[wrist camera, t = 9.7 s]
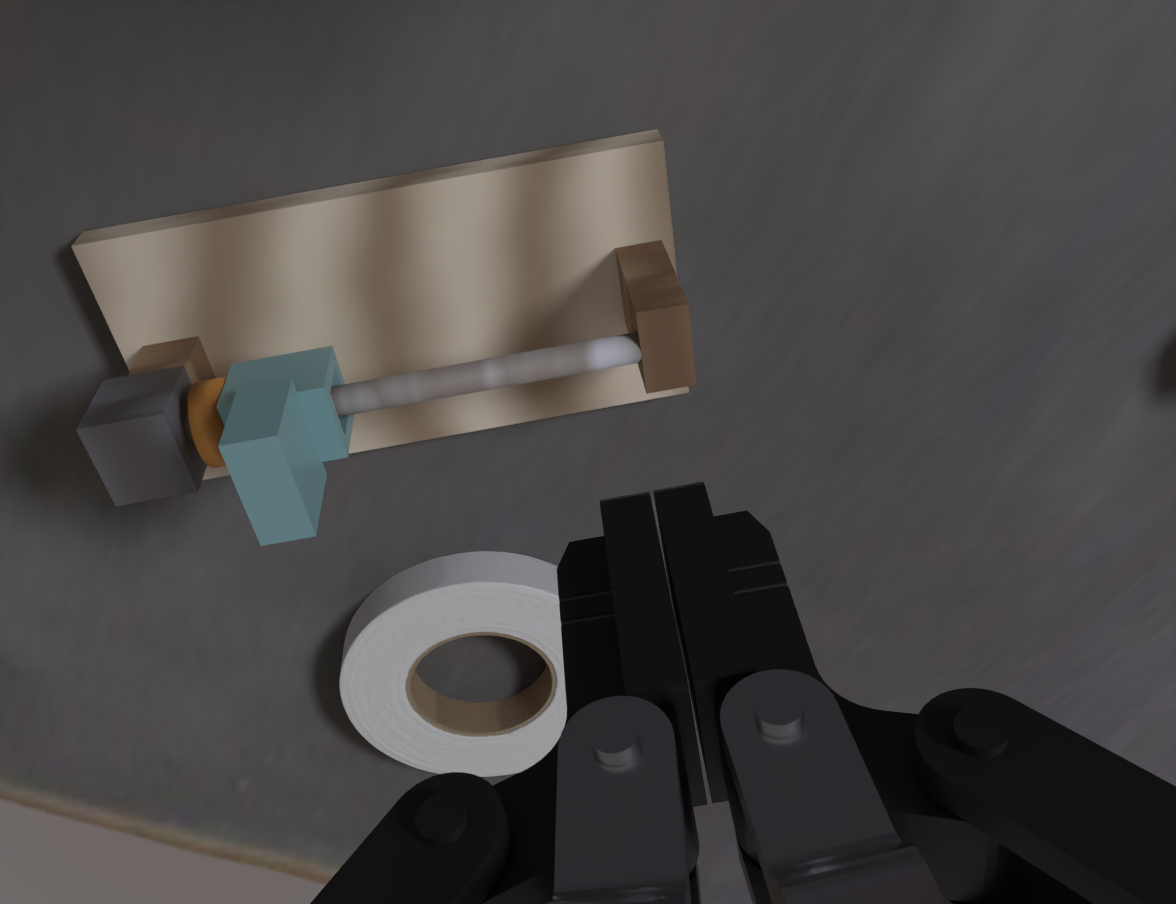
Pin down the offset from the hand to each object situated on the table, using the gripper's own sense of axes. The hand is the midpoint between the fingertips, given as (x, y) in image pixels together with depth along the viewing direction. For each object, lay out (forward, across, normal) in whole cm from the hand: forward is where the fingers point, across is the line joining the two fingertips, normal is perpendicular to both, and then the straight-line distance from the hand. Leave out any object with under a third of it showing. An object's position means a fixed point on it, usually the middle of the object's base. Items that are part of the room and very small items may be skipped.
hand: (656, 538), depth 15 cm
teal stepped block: (+25, +13, +10) cm, 30 cm away
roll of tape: (+30, +10, +32) cm, 46 cm away
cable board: (+30, +9, +11) cm, 33 cm away
